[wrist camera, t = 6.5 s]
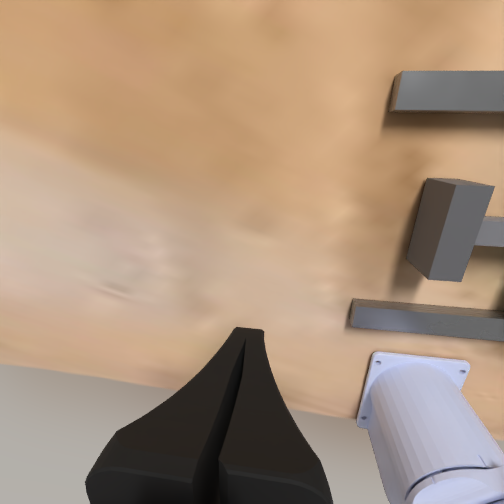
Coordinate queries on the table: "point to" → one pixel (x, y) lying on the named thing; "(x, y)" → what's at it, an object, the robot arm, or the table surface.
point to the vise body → (438, 101)
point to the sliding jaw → (452, 227)
